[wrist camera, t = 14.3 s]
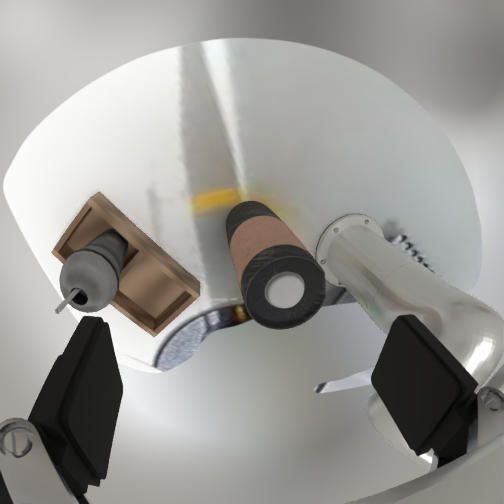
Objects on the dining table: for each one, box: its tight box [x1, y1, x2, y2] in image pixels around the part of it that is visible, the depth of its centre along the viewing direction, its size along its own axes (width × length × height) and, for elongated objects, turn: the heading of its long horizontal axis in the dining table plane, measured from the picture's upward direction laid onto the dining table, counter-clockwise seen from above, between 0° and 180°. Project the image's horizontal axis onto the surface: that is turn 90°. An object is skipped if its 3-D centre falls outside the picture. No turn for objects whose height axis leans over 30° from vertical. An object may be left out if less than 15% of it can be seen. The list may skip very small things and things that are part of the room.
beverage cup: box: [55, 228, 129, 314], centre depth 31 cm, size 7×7×20 cm
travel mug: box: [226, 201, 326, 329], centre depth 35 cm, size 8×8×20 cm
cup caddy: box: [51, 192, 200, 337], centre depth 41 cm, size 20×11×4 cm, turn 42°
